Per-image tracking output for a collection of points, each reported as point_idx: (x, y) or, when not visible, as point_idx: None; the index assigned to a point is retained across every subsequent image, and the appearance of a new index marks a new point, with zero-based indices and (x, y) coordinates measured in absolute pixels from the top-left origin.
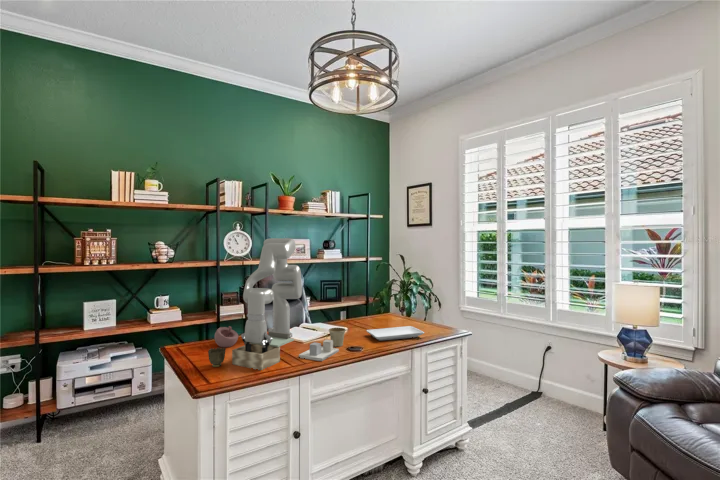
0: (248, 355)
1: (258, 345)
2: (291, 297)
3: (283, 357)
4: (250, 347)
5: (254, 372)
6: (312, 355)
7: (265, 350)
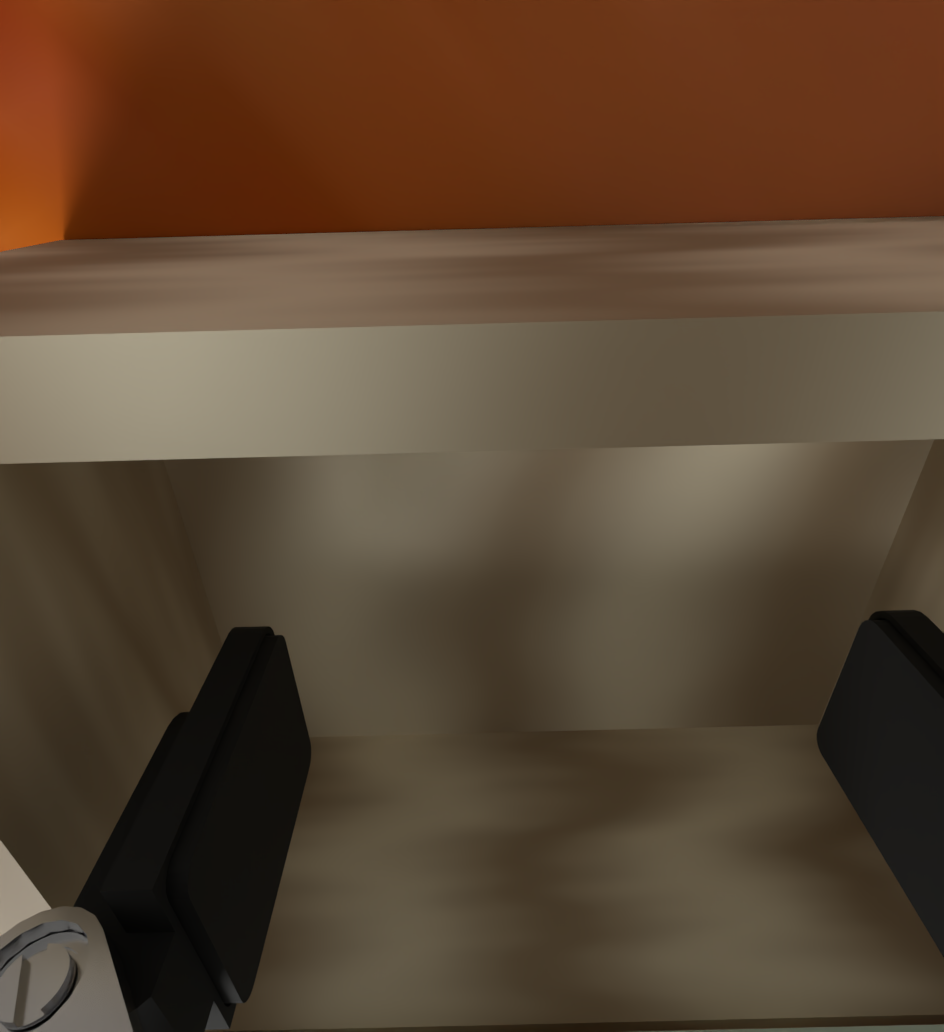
0: (515, 290)
1: (752, 988)
2: None
3: None
4: (898, 853)
5: (89, 18)
6: None
7: (127, 818)
